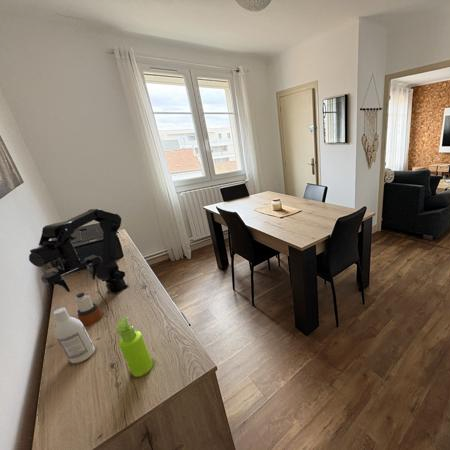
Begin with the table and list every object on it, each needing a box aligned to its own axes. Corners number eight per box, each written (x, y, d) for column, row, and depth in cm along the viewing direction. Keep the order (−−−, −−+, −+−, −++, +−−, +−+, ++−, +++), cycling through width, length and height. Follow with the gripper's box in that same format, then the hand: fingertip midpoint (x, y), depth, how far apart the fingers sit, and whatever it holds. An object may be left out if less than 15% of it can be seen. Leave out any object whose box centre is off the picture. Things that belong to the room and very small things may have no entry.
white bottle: (89, 303, 102) (83, 290, 100) (95, 305, 101) (89, 292, 98) (77, 310, 99) (70, 296, 96) (83, 312, 97) (76, 298, 94)
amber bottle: (96, 312, 106) (91, 301, 104) (105, 315, 103) (100, 304, 101) (78, 322, 100) (72, 311, 98) (87, 327, 98) (81, 315, 96)
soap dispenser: (129, 382, 74) (106, 334, 67) (134, 364, 80) (113, 317, 73) (151, 374, 76) (131, 326, 69) (153, 357, 82) (135, 311, 75)
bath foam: (81, 347, 88) (57, 304, 81) (100, 346, 88) (78, 302, 81) (64, 364, 82) (37, 319, 74) (85, 363, 82) (60, 317, 74)
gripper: (82, 241, 108) (94, 271, 114) (26, 261, 93) (44, 294, 98) (96, 244, 104) (109, 275, 110) (40, 266, 88) (58, 300, 94)
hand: (81, 285), depth 103 cm, fingers open, 9 cm apart
